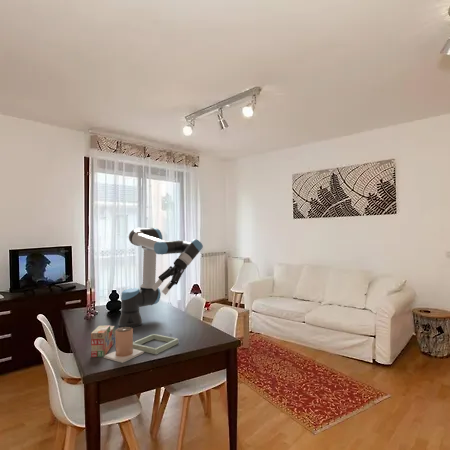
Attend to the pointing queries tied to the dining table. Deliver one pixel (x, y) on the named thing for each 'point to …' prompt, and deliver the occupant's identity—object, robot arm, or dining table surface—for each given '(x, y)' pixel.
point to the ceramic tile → (125, 358)
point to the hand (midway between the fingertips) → (158, 291)
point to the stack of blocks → (102, 340)
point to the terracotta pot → (124, 341)
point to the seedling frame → (157, 350)
